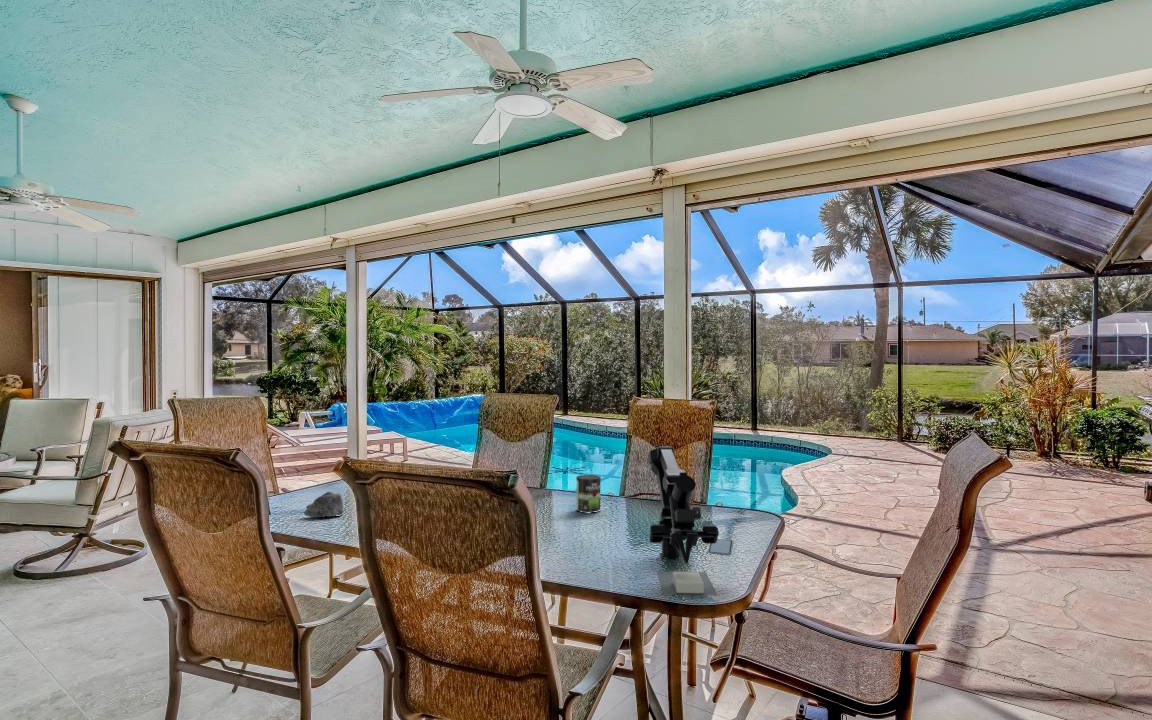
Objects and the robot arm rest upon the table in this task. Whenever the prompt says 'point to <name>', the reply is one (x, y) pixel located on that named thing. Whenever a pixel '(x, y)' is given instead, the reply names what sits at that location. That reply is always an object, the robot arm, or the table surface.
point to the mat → (669, 587)
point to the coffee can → (588, 493)
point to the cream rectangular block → (688, 582)
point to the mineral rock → (325, 506)
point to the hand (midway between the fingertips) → (686, 562)
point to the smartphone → (721, 547)
